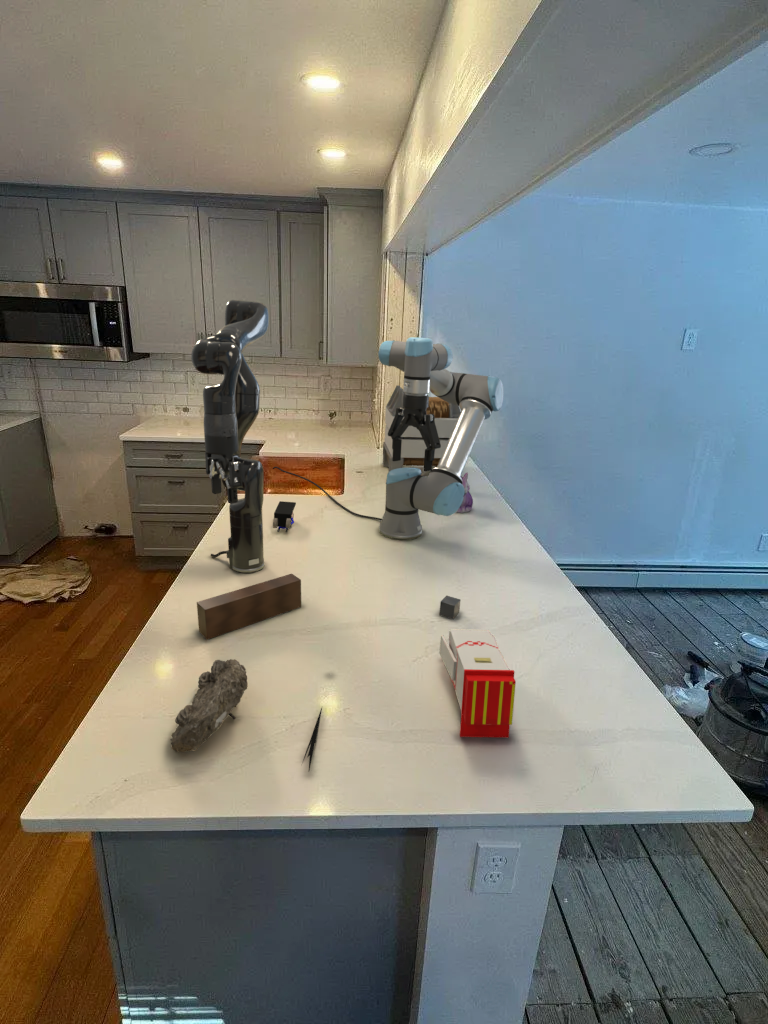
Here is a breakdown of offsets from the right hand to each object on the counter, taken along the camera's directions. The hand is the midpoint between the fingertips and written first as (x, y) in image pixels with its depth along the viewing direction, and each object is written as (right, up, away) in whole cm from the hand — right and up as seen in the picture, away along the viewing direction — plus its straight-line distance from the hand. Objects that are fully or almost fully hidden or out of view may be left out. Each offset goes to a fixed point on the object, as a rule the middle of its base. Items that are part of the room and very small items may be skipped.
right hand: (411, 465), depth 170 cm
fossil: (-40, -53, -61) cm, 91 cm away
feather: (-21, -54, -61) cm, 84 cm away
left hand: (-47, -10, -33) cm, 58 cm away
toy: (+10, -51, -51) cm, 73 cm away
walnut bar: (-41, -41, -27) cm, 64 cm away
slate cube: (+9, -41, -21) cm, 47 cm away
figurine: (+23, -13, +58) cm, 63 cm away
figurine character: (-43, -19, +31) cm, 57 cm away
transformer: (+9, +5, +105) cm, 106 cm away
